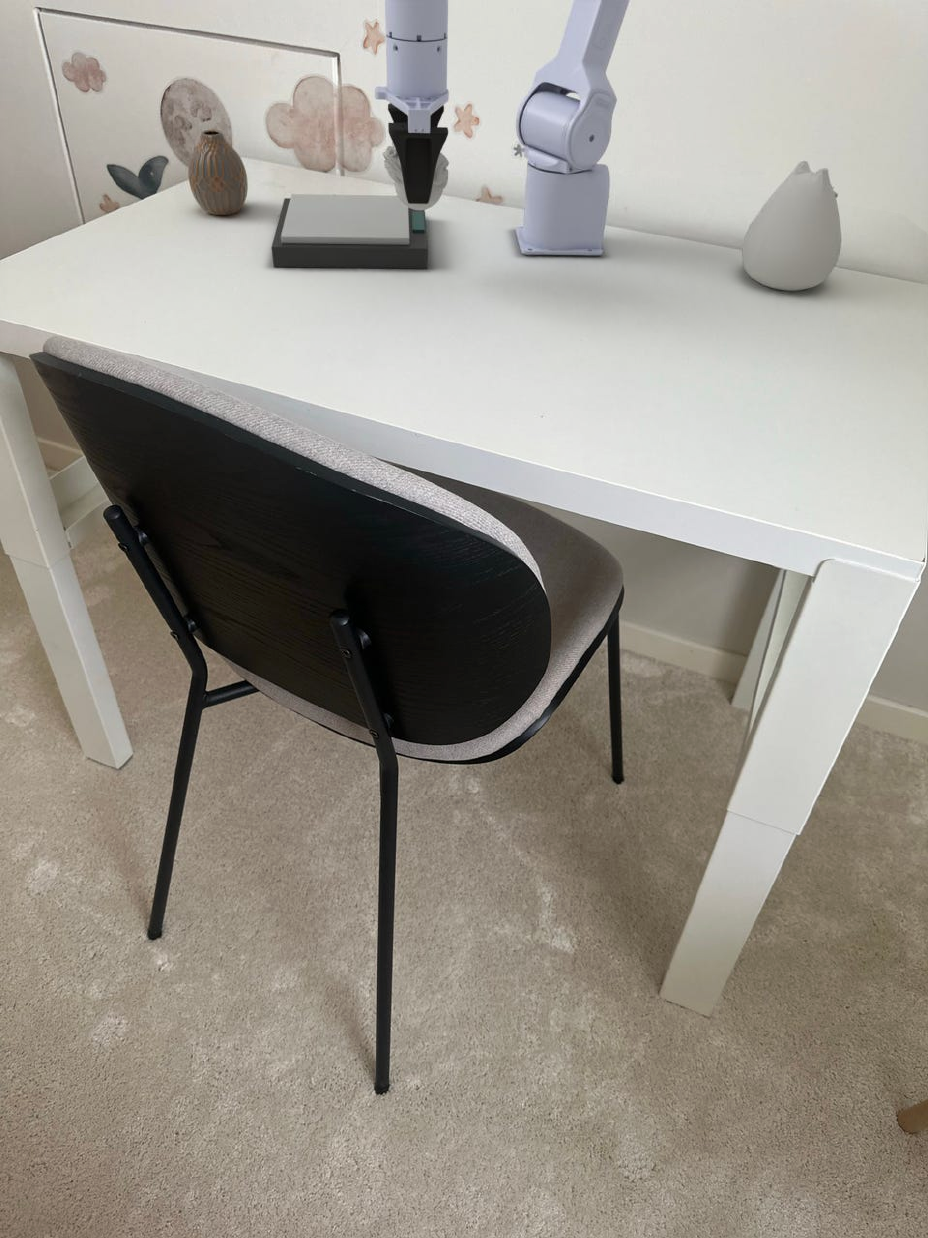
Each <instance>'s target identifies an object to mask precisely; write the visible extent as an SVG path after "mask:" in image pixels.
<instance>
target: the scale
mask: <svg viewBox="0 0 928 1238" xmlns="http://www.w3.org/2000/svg"><path fill="white" fill-rule="evenodd" d="M271 255H272V263H273V264H272V265H273V267H274V268H335V269H336V268H337V269H338V268H339V269H340V268H341V269H343V268H347V269H426V270H427V269H428V268H429V267H428V266H429V262H428V261H429V248H428V235H427V222H426V210H414V209H411V208H409V207H407V206H406V205H404V204H403V203H402V202H401V200H400V199H399V197H398V195H377V194H376V195H373V194H372V195H369V194H317V193H316V194H314V193H313V194H312V193H311V194H310V193H309V194H308V193H307V194H306V193H305V194H303V193H291V194H290V197H284V199H283V203H282V207H281V210H280V214H279V218H278V222H277V225H276V229H275V232H274V237H273V240H272V244H271Z"/></svg>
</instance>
